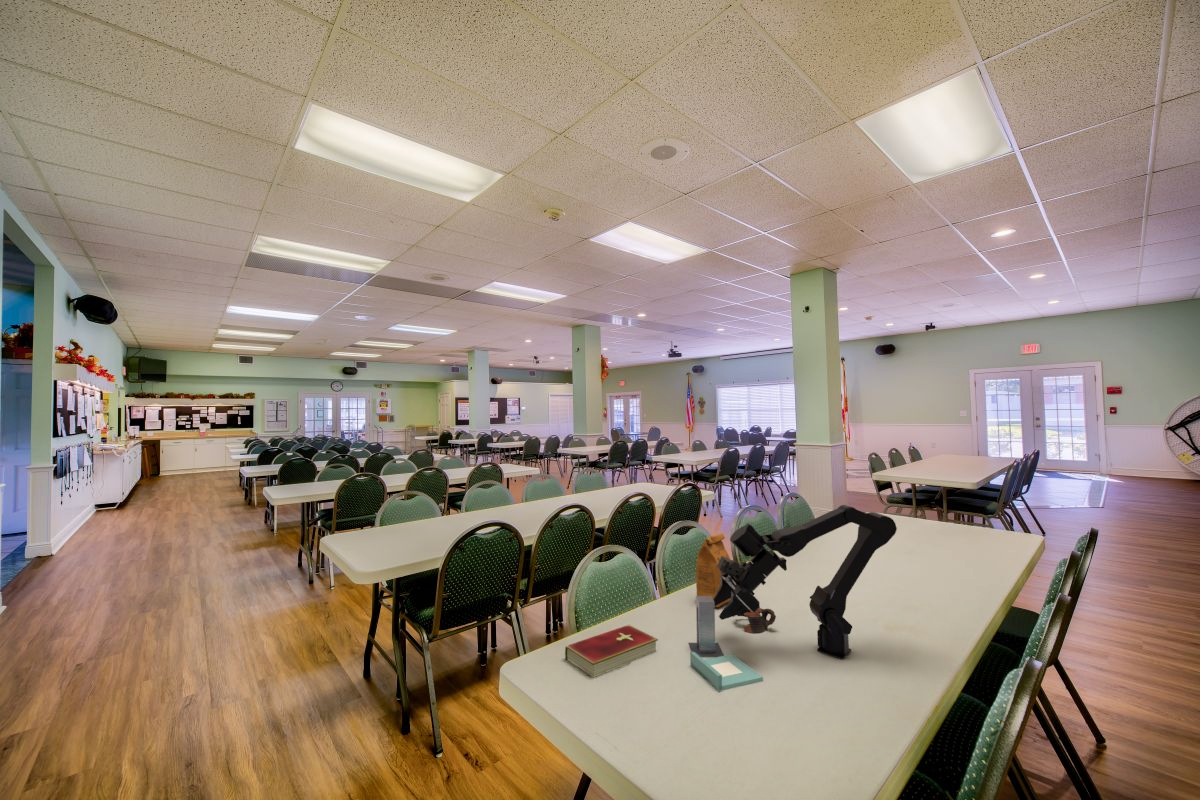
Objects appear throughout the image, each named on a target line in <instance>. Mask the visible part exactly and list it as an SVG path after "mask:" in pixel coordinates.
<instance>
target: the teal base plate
mask: <svg viewBox="0 0 1200 800" xmlns="http://www.w3.org/2000/svg"><path fill="white" fill-rule="evenodd" d="M689 657H690V658H689V659H690V667H691V668H692V669H694V671H695V672H697V674H699V675H700V676H701V677H702V678H703V679H704V680H706V682H707V683H709V684H710V685H711V686H712V687H713V688H714V689H715V690H717V693H720V692H721V691H725V690H729V689H733V688H738V687H741V686H742V687H743V686H746V685H753V684H756V683H760V682H763V681H764V677H763V676H762V675H761V674H760V673H758V672H756V671H755V670H754V669H753V668H752V667H750V666H749V665H748V664H746V663H744V662H743V661H742V660H740V659H739V658H738V657H737V656H736V655H734V654H733V653H732V654H725V655H724V656H720V657H709V658H705V659H703V657H700V656H699V655H697V654H696V653H695V652H690V655H689Z"/></svg>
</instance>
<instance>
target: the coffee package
mask: <svg viewBox="0 0 1200 800" xmlns="http://www.w3.org/2000/svg"><path fill="white" fill-rule="evenodd" d="M725 538H726V537H725V534H724V533H719V534H716V535H712V536H708V537H707V538H705V539H704V542H703V543H702V545H701V547H700V549H699V551H698V553H697V556H696V557H697V558H696V563H695V564H696V566H695V569H696V570H695V580H696V581H695V583H696V585H695V586H696V596H711V597H712V599H714V597H715V595H716V593H717V591H718V589H719V587H720V585H721V580H720V575H721V573H720V572H721V571H720V570H719V568H718V567H717V565H718V563H719V561H720V559H721V556H724V557H726V558H728V559H730V560H732V559H731V557H730V555H729V553H728V552H727V549H726V548H725V545H724V542H723V540H725ZM721 576H722V575H721ZM722 577H723V576H722ZM730 600H731V598H729V599H728V600H726V601H724V602H722V603H720V604H718V605H716V606H715V608H719V607H721V606H722V605H724V604H728V603H729V602H730Z"/></svg>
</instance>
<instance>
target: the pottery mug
mask: <svg viewBox="0 0 1200 800" xmlns="http://www.w3.org/2000/svg"><path fill="white" fill-rule="evenodd" d="M750 611H751V612H750V613H749V612H747V613H743V614H739V615H736V617H745V618H747V620H748V622H749V623H748V624H744V625H743V626H742V627H743V630H744V632H745V633H749V634H761V633H764V632H765V629H768V627H769V626H770V625H773V624H774V623H775V621H776V618H777V615H775V611H774V610H773V609H771V608H761V607H760V605H759V608H758V609H757V611H756V612H755V613H754V612H753V611H752V610H751V609H750ZM768 615H770V618H769V619H767V617H768ZM733 618H735V616H733Z"/></svg>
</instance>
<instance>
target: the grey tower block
mask: <svg viewBox="0 0 1200 800" xmlns="http://www.w3.org/2000/svg"><path fill="white" fill-rule="evenodd" d="M695 609H696V610H695V617H696V618H695V621H696V643H697V648H699V653H700V654H715V643H716V617H715V615H716V614H715V612H716V611H715V609H716V607H715V602H714V600H713V599H712V597H711V596H697V595H695Z"/></svg>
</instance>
